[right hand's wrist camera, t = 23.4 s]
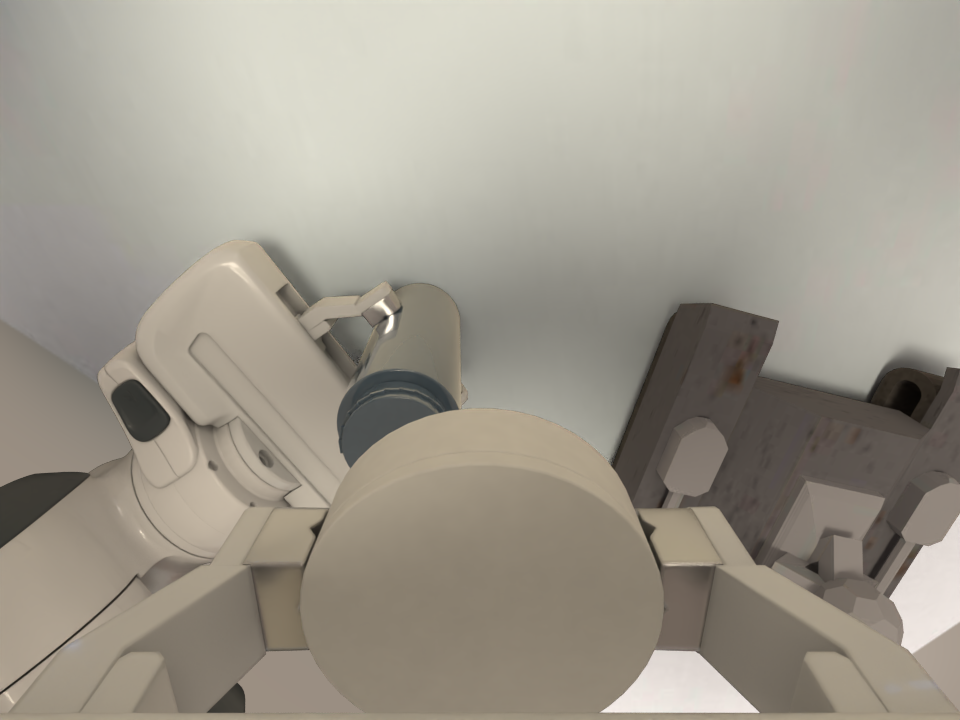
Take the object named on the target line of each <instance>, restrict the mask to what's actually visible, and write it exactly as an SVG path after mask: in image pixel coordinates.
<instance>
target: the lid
mask: <svg viewBox="0 0 960 720" xmlns="http://www.w3.org/2000/svg"><path fill="white" fill-rule="evenodd" d="M663 614H664V591H663V586H662V581H661V576H660V572H659V569H658V566H657V564H656V561H655V558H654V556H653V553H652V551H651V548H650V546H649V544H648V541H647V539H646V536H645V534H644V532H643V529H642V527H641V524H640V522H639V520H638V517H637V515H636V512H635V510H634V507H633V505H632V503H631V500H630V498H629V495H628V493H627V491H626V488H625V487H624V485H623V483H622V481H621V480H620V478H619V476H618V474H617V473H616V472H615V470H614V469H613V468H612V467H611V465H610V464H609V463H608V462H607V460H606V459H605V458H604V457H603V456H602V455H601V454H600V453H599V452H598V451H597V450H595V449H594V448H593V447H592V446H591V445H590V444H588V443H587V442H586V441H584V440H583V439H581V438H580V437H579V436H577V435H576V434H574V433H572V432H571V431H569V430H567V429H565V428H563V427H561V426H559V425H557V424H555V423H552V422H550V421H547V420H545V419H542V418H539V417H537V416H533V415H529V414H525V413H521V412H517V411H510V410H502V409H494V408H470V409H461V410H453V411H447V412H443V413H439V414H434V415H430V416H427V417H424V418H421V419H419V420H416V421H413V422H411V423H408V424H406V425H404V426H402V427H400V428H399V429H397V430H395V431H393V432H391V433H389V434H388V435H386V436H385V437H383V438H382V439H381V440H379V441H378V442H376V443H375V444H374V445H372V446H371V447H370V448H369V449H368V450H367V451H366V452H365V453H364V454H363V455H362V456H361V457H360V458H358V460H357V461H356V462H355V463H354V465H353V466H352V467H351V469H350V470H349V471H348V472H347V474H346V475H345V477H344V479H343V481H342V482H341V484H340V486H339V488H338V490H337V492H336V494H335V497H334V499H333V502H332V504H331V506H330V509H329V511H328V514H327V516H326V518H325V521H324V523H323V526H322V528H321V531H320V533H319V535H318V538H317V540H316V543H315V545H314V547H313V550H312V552H311V555H310V557H309V560H308V563H307V565H306V568H305V571H304V574H303V579H302V584H301V589H300V615H301V622H302V628H303V632H304V635H305V638H306V642H307V645H308V648H309V650H310V652H311V654H312V655H313V658H314V660H315V661H316V664H317V665H318V666H319V668H320V669H321V671H322V672H323V674H324V675H325V677H326V678H327V679H328V680H329V682H330V683H331V684H332V685H333V686H334V687H335V688H336V689H337V690H338V691H339V692H340V693H341V694H342V695H343V696H344V697H345V698H346V699H348V700H349V701H350V702H351V703H352V704H353V705H355V706H356V707H357V708H359V709H361V710H362V711H363V712H365V713H599V712H601V711H602V710H604V709H605V708H607V707H608V706H609V705H611V704H612V703H613V702H614V701H615V700H617V699H618V698H619V697H620V696H621V695H623V694H624V693H625V691H626V690H627V689H628V688H629V687H630V686H631V685H632V684H633V683H634V682H635V681H636V679H637V678H638V677H639V675H640V674H641V672H642V671H643V669H644V668H645V667H646V665H647V663H648V661H649V659H650V657H651V655H652V654H653V652H654V650H655V647H656V644H657V641H658V638H659V635H660V632H661V627H662V620H663Z"/></svg>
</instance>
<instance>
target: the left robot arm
mask: <svg viewBox="0 0 960 720" xmlns="http://www.w3.org/2000/svg"><path fill="white" fill-rule="evenodd" d="M401 304H402V302H401V301H400V299H399V298H398V296H397V295H396V294H395V292H394V291H393V289H392V288H391V286H390V285H389V284H388V283H387V281H385V282H383V283H381V284H379V285H378V286H377V287H375V288H374V289H372V290H371V291H369V292H368V293H366V294H365V295H363V296H362V297H360V296H359V295H357V296H338V297H324V298H323V299H321V300H320V301H318V302H317V303H315V304H314V305H312V306H311V307H309V306H308V304H307V303H306V302H305V301H304V299H303V298H302V297H301V296H300V294H299V293H298V292H297V291H296V289H295V288H294V287H293V286H292V284H291V283H290V282H289V281H288V279H287V278H286V277H285V276H284V275H283V273H282V272H281V271H280V270H279V268H278V267H277V266H276V265H275V263H274V262H273V261H272V260H271V258H270V257H269V256H268V255H267V253H266V252H265V251H264V249H263V248H262V247H261V246H260V245H259V244H258V243H256V242H252V241H244V240H232V241H229V242H226V243H224V244H222V245H220V246H218V247H217V248H215V249H213V250H212V251H210V252H209V253H207V254H206V255H205V256H203V257H202V258H201V259H199V260H198V261H197V262H196V263H194V264H193V265H192V266H191V267H190V268H189V269H187V270H186V271H185V272H184V273H183V274H182V275H181V276H180V277H179V278H177V279H176V280H175V281H174V282H173V283H172V284H171V285H170V286H169V287H168V288H167V289H166V290H165V291H164V292H163V293H162V294H161V295H160V296H159V297H158V299H157V300H156V301H155V302H154V303H153V304H152V305H151V306H150V307H149V309H148V310H147V311H146V312H145V314H144V315H143V317H142V318H141V320H140V322H139V324H138V327H137V330H136V335H135V341H134V342H133V343H131V344H130V345H128V346H127V347H125V348H124V349H122V350H121V351H120V352H119V353H117V354H116V355H115V356H114V357H113V358H112V359H111V360H109V361H108V362H107V364H106V365H105V366H104V367H103V368H102V369H101V370H100V371H99V373H98V376H97V380H98V384H99V387H100V389H101V391H102V393H103V394H104V396H105V398H106V400H107V401H108V403H109V405H110V407H111V408H112V410H113V412H114V414H115V416H116V417H117V419H118V421H119V423H120V425H121V427H122V429H123V430H124V432H125V434H126V436H127V438H128V440H129V443H130V445H131V447H132V449H131V451H130V452H129V453H128V454H127V455H126V456H125V457H123V458H120V459H116V460H112V461H110V462H107V463H105V464H102V465H100V466H98V467H97V468H95V469H94V470H92V471H91V472H89V473H82V472H58V473H40V474H33V475H29V476H26V477H23V478H20V479H18V480H15V481H13V482H11V483H8V484H6V485H4V486H2V487H0V713H8V712H9V711H10V710H11V708H12V707H13V706H14V705H15V704H16V702H17V701H18V700H19V699H20V698H21V696H22V695H23V694H24V693H25V691H26V690H27V689H28V688H29V687H30V685H31V684H32V683H33V682H34V681H35V679H36V678H37V677H38V676H39V675H40V673H41V672H42V671H43V670H44V669H45V667H46V666H47V665H48V664H49V663H50V661H51V660H52V659H53V658H54V656H55V655H56V654H57V653H58V652H59V650H60V649H62V648H63V647H65V646H67V645H68V644H70V643H72V642H73V641H75V640H77V639H78V638H80V637H82V636H83V635H85V634H87V633H88V632H90V631H92V630H93V629H95V628H97V627H98V626H100V625H102V624H103V623H105V622H107V621H109V620H110V619H112V618H114V617H115V616H117V615H119V614H120V613H122V612H124V611H125V610H127V609H129V608H130V607H132V606H134V605H135V604H137V603H139V602H140V601H142V600H144V599H145V598H147V597H149V596H150V595H152V594H154V593H156V592H157V591H159V590H161V589H162V588H164V587H166V586H167V585H169V584H171V583H172V582H174V581H176V580H177V579H179V578H181V577H182V576H184V575H186V574H187V573H189V572H191V571H192V570H194V569H196V568H197V567H199V566H201V565H203V564H206V563H211V562H212V561H213V559H214V558H215V556H216V554H217V553H218V551H219V550H220V548H221V547H222V545H223V544H224V542H225V540H226V539H227V537H228V536H229V534H230V533H231V531H232V530H233V528H234V526H235V525H236V523H237V522H238V520H239V519H240V517H241V515H242V514H243V512H244V511H245V510H246V509H248V508H250V507H311V508H330V506H331V504H332V502H333V499H334V497H335V494H336V492H337V490H338V488H339V486H340V484H341V482H342V481H343V479H344V477H345V475H346V474H347V472H348V471H349V470H350V467H349V466H348V464H347V462H346V460H345V458H344V455H343V453H340V449H339V443H338V440H339V436H338V431H337V413H338V409H339V406H340V403H341V401H342V399H343V396H344V394H345V392H346V390H347V387H348V385H349V383H350V381H351V378H352V376H353V374H354V372H355V370H356V367H357V365H356V364H355V363H354V362H353V360H352V359H351V358H350V357H349V355H348V354H347V353H346V352H345V350H344V349H343V348H342V347H341V345H340V344H339V343H338V342H337V340H336V339H335V338H334V337H333V335H332V334H331V333H330V332H329V330H331V328H332V327H333V325H334V324H335V322H336V321H337V319H338V318H346V317H357V316H364V317H365V319H366V320H367V321H368V322H369V323H370V325H371V326H372V327H374V326H376V325H377V324H379V323H380V322H381V321H382V320H383V319H384V317H385V316H390V315H392V314H394V313H395V312H396V311H398V310H399V309H400V307H401ZM467 399H468V392H467V390H466V388H465V387H464V386H463V384H462V383H461V405H463V404H464V403H465V402H466V400H467ZM207 713H245V694H244V691H243V689H242V687H241V686H240V685H239V684H238V683H236V684H235V685H234V686H233V687H232V688H231V689H230V690H229V691H228V692H227V693H226V694H225V695H224V696H223V697H222V698H221V699H220V700H219V701H218V702H217V703H216V704H215V705H214V706H213V707H212V708H211V709H210V710H209V711H208V712H207Z"/></svg>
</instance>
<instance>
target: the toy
mask: <svg viewBox="0 0 960 720" xmlns="http://www.w3.org/2000/svg"><path fill="white" fill-rule="evenodd" d="M778 323H779V321H777V320H773V319H769V318H766V317H762V316H758V315H754V314H751V313H747V312H743V311H739V310H736V309H732V308H728V307H724V306H720V305H717V304H713V303H699V304H680V306H679V309H678V311H677V312H676V313H675V314H674V315H673V316H672V317H671V318H670V320H669V322H668V324H667V326H666V329H665V332H664V334H663V337H662V339H661V342H660V344H659V347H658V349H657V352H656V355H655V357H654V360H653V362H652V365H651V367H650V370H649V373H648V375H647V378H646V380H645V383H644V385H643V388H642V390H641V393H640V396H639V398H638V401H637V403H636V406H635V408H634V411H633V414H632V416H631V419H630V421H629V424H628V426H627V429H626V431H625V434H624V437H623V439H622V442H621V444H620V447H619V449H618V452H617V455H616V457H615V460H614V462H613V465H612V468H613V469H614V470H615V472H616V473H617V474H618V476H619V478H620V480H621V481H622V483H623V485H624V487H625V488H626V491H627V493H628V495H629V498H630V500H631V503H632V505H633V507H634V509H635V508H688V507H710V506H715V507H716V508H718V509H719V510H720V511H721V513H722V514H723V516H724V517H725V519H726V520H727V522H728V523H729V525H730V526H731V528H732V529H733V531H734V532H735V534H736V535H737V537H738V538H739V540H740V541H741V543H742V544H743V546H744V547H745V549H746V550H747V552H748V553H749V555H750V556H751V558H752V559H753V561H754V562H755V564H756V565H765V566H767V567H769V568H770V569H772V570H774V571H775V572H777V573H779V574H780V575H782V576H784V577H786V578H787V579H789V580H791V581H792V582H794V583H796V584H797V585H799V586H801V587H802V588H804V589H806V590H807V591H809V592H811V593H813V594H814V595H816V596H818V597H819V598H821V599H823V600H824V601H826V602H828V603H829V604H831V605H833V606H835V607H836V608H838V609H840V610H841V611H843V612H845V613H846V614H848V615H850V616H851V617H853V618H855V619H856V620H858V621H860V622H862V623H863V624H865V625H867V626H868V627H870V628H872V629H873V630H875V631H877V632H878V633H880V634H882V635H884V636H885V637H887V638H889V639H890V640H892V641H894V642H895V643H897V644H899V645H900V646H901V642H902V638H903V633H904V632H903V623H902V619H901V617H900V615H899V613H898V611H897V609H896V606H895V604H894V602H892V601H891V600H890V599H889V597H890V596H891V594H892V593H893V591H894V590H895V588H896V586H897V585H898V583H899V582H900V580H901V579H902V577H903V576H904V574H905V573H906V571H907V570H908V568H909V566H910V565H911V563H912V562H913V560H914V559H915V557H916V556H917V554H918V553H919V551H920V549H921V548H922V546H923V545H925V546H930V545H933V544H935V543H938V542H940V541H942V540H943V538H944V537H945V535H946V533H947V532H948V530H949V529H950V527H951V526H952V524H953V523H954V521H955V520H956V518H957V517H958V515H959V514H960V369H958V368H949V367H947V369H946V372H945V376H944V377H942V376H938V375H934V374H930V373H926V372H922V371H918V370H914V369H910V368H898V369H894V370H892V371H890V372H889V373H887V374H886V375H885V376H884V378H883V379H882V381H881V383H880V384H879V386H878V388H877V390H876V392H875V394H874V395H873V397H872V399H871V401H870V403H866V402H862V401H858V400H854V399H849V398H845V397H841V396H837V395H833V394H829V393H825V392H821V391H817V390H813V389H808V388H804V387H800V386H796V385H792V384H788V383H784V382H780V381H776V380H772V379H767V378H763V377H759V376H758V375H759V373H760V370H761V368H762V366H763V364H764V362H765V360H766V357H767V355H768V353H769V351H770V349H771V347H772V344H773V341H774V337H775V334H776V330H777V326H778ZM696 652H697V653H700V651H696Z"/></svg>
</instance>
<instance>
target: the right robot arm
mask: <svg viewBox="0 0 960 720" xmlns="http://www.w3.org/2000/svg"><path fill="white" fill-rule="evenodd" d="M329 509H330V508H311V507H250V508H248V509H246V510H245V511H244V512H243V514H242V515H241V517H240V519H239V520H238V522H237V523H236V525H235V526H234V528H233V530H232V531H231V533H230V534H229V536H228V537H227V539H226V540H225V542H224V544H223V545H222V547H221V548H220V550H219V551H218V553H217V554H216V556H215V558H214V559H213V561H212V562H211V564H210V565H201V566H199V567H197V568H196V569H194V570H192V571H191V572H189V573H187V574H186V575H184V576H182V577H181V578H179V579H177V580H176V581H174V582H172V583H171V584H169V585H167V586H166V587H164V588H162V589H161V590H159V591H157V592H156V593H154V594H152V595H150V596H149V597H147V598H145V599H144V600H142V601H140V602H139V603H137V604H135V605H134V606H132V607H130V608H129V609H127V610H125V611H124V612H122V613H120V614H119V615H117V616H115V617H114V618H112V619H110V620H109V621H107V622H105V623H103V624H102V625H100V626H98V627H97V628H95V629H93V630H92V631H90V632H88V633H87V634H85V635H83V636H82V637H80V638H78V639H77V640H75V641H73V642H72V643H70V644H68V645H67V646H65V647H63V648H62V649H60V650H59V652H58V653H57V654H56V655H55V656H54V658H53V659H52V660H51V661H50V663H49V664H48V665H47V666H46V667H45V669H44V670H43V671H42V672H41V673H40V675H39V676H38V677H37V678H36V679H35V681H34V682H33V683H32V684H31V685H30V687H29V688H28V689H27V690H26V691H25V693H24V694H23V695H22V696H21V698H20V699H19V700H18V701H17V702H16V704H15V705H14V706H13V707H12V708H11V710H10V711H9V712H8V713H0V720H960V712H959V710H958V709H957V708H956V707H955V706H954V704H953V703H952V702H951V701H950V700H949V698H948V697H947V696H946V695H945V694H944V693H943V691H942V690H941V689H940V688H939V687H938V685H937V684H936V683H935V682H934V681H933V679H932V678H931V677H930V676H929V675H928V673H927V672H926V671H925V670H924V669H923V667H922V666H921V665H920V664H919V663H918V661H917V660H916V659H915V658H914V657H913V655H912V654H911V653H910V652H909V651H908V650H907V649H905V648H904V647H902V646H900V645H899V644H897V643H895V642H894V641H892V640H890V639H889V638H887V637H885V636H884V635H882V634H880V633H878V632H877V631H875V630H873V629H872V628H870V627H868V626H867V625H865V624H863V623H862V622H860V621H858V620H856V619H855V618H853V617H851V616H850V615H848V614H846V613H845V612H843V611H841V610H840V609H838V608H836V607H835V606H833V605H831V604H829V603H828V602H826V601H824V600H823V599H821V598H819V597H818V596H816V595H814V594H813V593H811V592H809V591H807V590H806V589H804V588H802V587H801V586H799V585H797V584H796V583H794V582H792V581H791V580H789V579H787V578H786V577H784V576H782V575H780V574H779V573H777V572H775V571H774V570H772V569H770V568H769V567H767V566H765V565H756V564H755V562H754V561H753V559H752V558H751V556H750V555H749V553H748V552H747V550H746V549H745V547H744V546H743V544H742V543H741V541H740V540H739V538H738V537H737V535H736V534H735V532H734V531H733V529H732V528H731V526H730V525H729V523H728V522H727V520H726V519H725V517H724V516H723V514H722V513H721V511H720V510H719V509H718V508H716V507H715V506H710V507H688V508H635V509H634V510H635V512H636V515H637V517H638V520H639V522H640V524H641V527H642V529H643V532H644V534H645V536H646V539H647V541H648V544H649V546H650V548H651V551H652V553H653V556H654V558H655V561H656V564H657V566H658V569H659V572H660V576H661V581H662V586H663V591H664V614H663V620H662V627H661V632H660V635H659V638H658V641H657V644H656V647H655V650H673V651H700V655H701V656H702V657H703V658H704V659H706V660H707V661H708V662H709V663H710V664H711V665H712V666H713V667H714V668H715V669H716V670H717V671H718V672H719V673H720V674H721V675H722V676H723V677H724V678H725V679H726V680H727V681H728V682H729V683H730V684H731V685H732V686H733V687H734V688H735V689H736V690H737V691H738V692H739V693H740V694H741V695H742V696H743V697H744V698H745V699H746V700H748V701H749V702H750V703H751V704H752V705H753V706H754V707H755V708H756V709H757V710H758V711H759V712H760V713H207V712H208V711H209V710H210V709H211V708H212V707H213V706H214V705H215V704H216V703H217V702H218V701H219V700H220V699H221V698H222V697H223V696H224V695H225V694H226V693H227V692H228V691H229V690H230V689H231V688H232V687H233V686H234V685H235V684H236V683H237V682H238V681H239V680H240V679H241V678H242V677H243V676H244V675H245V674H246V673H247V672H248V671H249V670H250V669H251V668H252V667H253V666H254V665H255V664H256V663H257V662H259V660H261V659H262V658H263V657H264V656H265V655H266V651H292V650H309V648H308V645H307V642H306V638H305V635H304V632H303V628H302V622H301V615H300V589H301V584H302V579H303V574H304V571H305V568H306V565H307V563H308V560H309V557H310V555H311V552H312V550H313V547H314V545H315V543H316V540H317V538H318V535H319V533H320V531H321V528H322V526H323V523H324V521H325V518H326V516H327V514H328V511H329Z"/></svg>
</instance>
